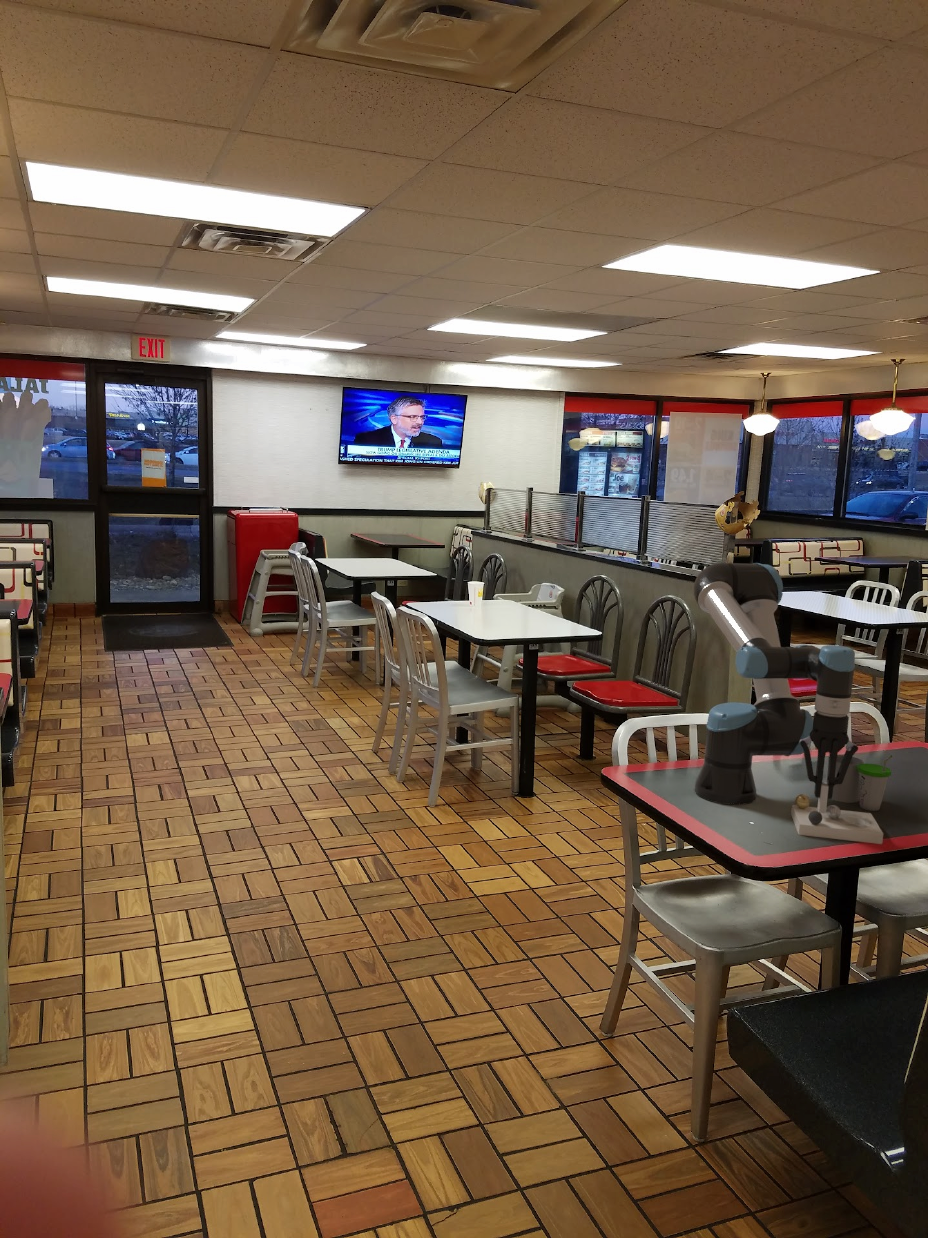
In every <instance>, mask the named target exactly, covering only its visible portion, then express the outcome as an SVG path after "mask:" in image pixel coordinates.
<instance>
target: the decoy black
mask: <svg viewBox="0 0 928 1238" xmlns="http://www.w3.org/2000/svg"><path fill="white" fill-rule="evenodd" d="M808 818H809V821H810V822H811V823H813V824H819V823H820V822H821V821H822V815H821V813H820V812H818V811H812V812H811V813H810V814H809V816H808Z"/></svg>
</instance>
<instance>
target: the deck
mask: <svg viewBox="0 0 928 1238" xmlns="http://www.w3.org/2000/svg"><path fill="white" fill-rule="evenodd" d="M817 808H818V806H817V807H816V806H808V807H807V808H804V809H802V808H799V807H798V806H797V805H796V804H791V811H790V816H791V817H792V821H793V823H794V826H795V829H796V832H797V834H798V835H800V836H808V837H815V838H825V839H834V840H842V841H851V842H859V843H868V844H869V843H870V844H878V845H883V839H884V832H883V830H882V829H881V828H880V826H879V824H878V823H877V820H876V819H875V817H874V816H873V814H872V813H871V812H862V811H855V810H854V811H853V810H844V809H840V811H841V814H840V816H839V817H838V818H837V819H831V818H829V817H828V816H827V814H826V813H821V815H822V821H821V822H820V823H819V824H813V823H811V822H810V821H809V818H808V816H809V814H810V813H811V812H812V811H818V809H817ZM827 808H828V807H826V809H827ZM818 812H819V811H818Z"/></svg>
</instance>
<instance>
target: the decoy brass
mask: <svg viewBox="0 0 928 1238" xmlns="http://www.w3.org/2000/svg"><path fill="white" fill-rule="evenodd" d="M810 804H811V801H810V798H809V797H808V795H806V794H804V793H803V794H802V793H799V794H798V795H797V796H796V797H795V799H794V805H797V806H798V807H799V808H802V809H804V808H807V807H810Z"/></svg>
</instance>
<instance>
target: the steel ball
mask: <svg viewBox="0 0 928 1238" xmlns="http://www.w3.org/2000/svg"><path fill="white" fill-rule="evenodd" d="M826 808H827V809H826V814H827V816H828V817H829V818H831V819H837V818H838V817H839V816H840V814H841V811H840V810H841V809H840V807H839V806H838V805H835V804H832V805H828V806H827V807H826Z"/></svg>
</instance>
